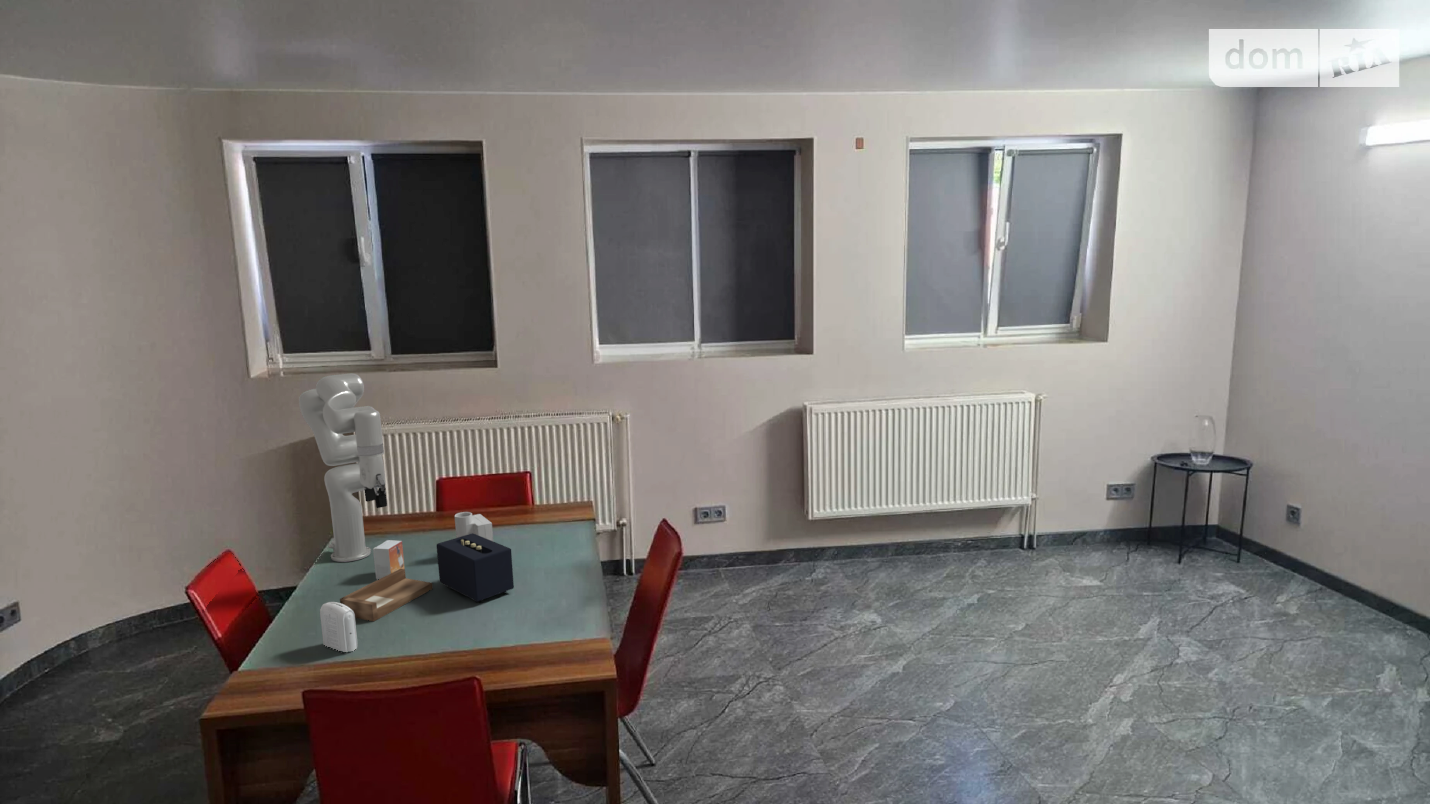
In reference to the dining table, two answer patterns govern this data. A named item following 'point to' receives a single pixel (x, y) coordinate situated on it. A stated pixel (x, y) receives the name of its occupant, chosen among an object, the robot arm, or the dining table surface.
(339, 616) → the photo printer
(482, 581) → the speaker
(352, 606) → the wooden tray
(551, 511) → the dining table surface
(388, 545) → the small box
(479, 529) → the white desk organizer
